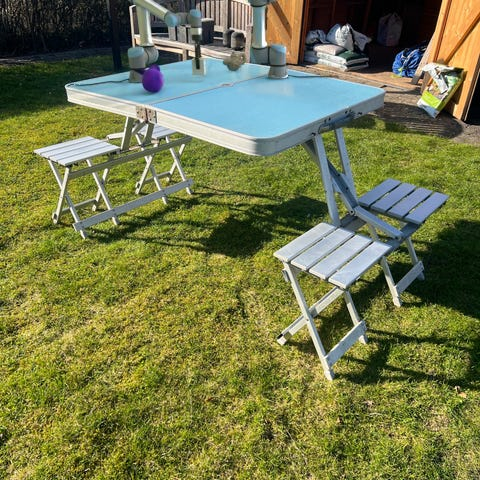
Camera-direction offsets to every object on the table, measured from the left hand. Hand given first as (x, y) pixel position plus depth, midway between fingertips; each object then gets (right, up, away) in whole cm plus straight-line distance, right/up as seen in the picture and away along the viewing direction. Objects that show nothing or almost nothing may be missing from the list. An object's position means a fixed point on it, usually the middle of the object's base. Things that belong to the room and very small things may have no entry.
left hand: (198, 68), depth 327 cm
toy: (-31, -23, -19) cm, 43 cm away
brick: (0, -4, +2) cm, 4 cm away
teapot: (+25, +14, +42) cm, 51 cm away
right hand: (+50, +44, +33) cm, 74 cm away
